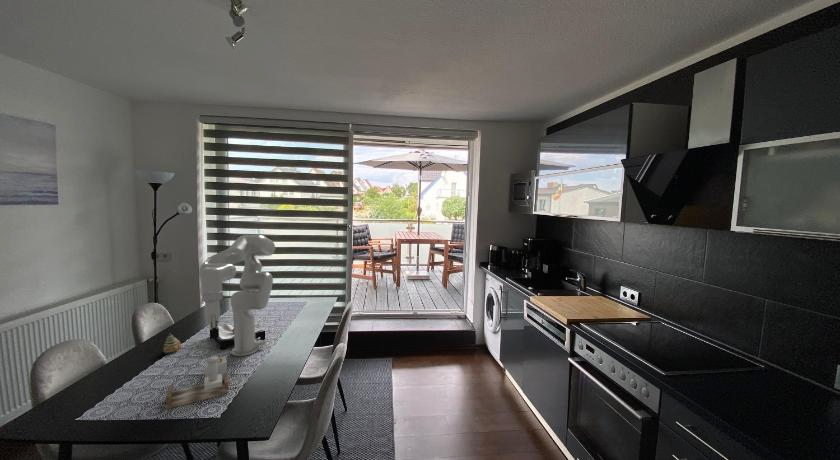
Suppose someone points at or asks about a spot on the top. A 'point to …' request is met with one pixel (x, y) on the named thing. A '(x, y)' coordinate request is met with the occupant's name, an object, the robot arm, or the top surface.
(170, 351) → the ornament
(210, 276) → the robot arm
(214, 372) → the grey pedestal
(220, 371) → the white box
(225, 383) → the brown wooden tray
